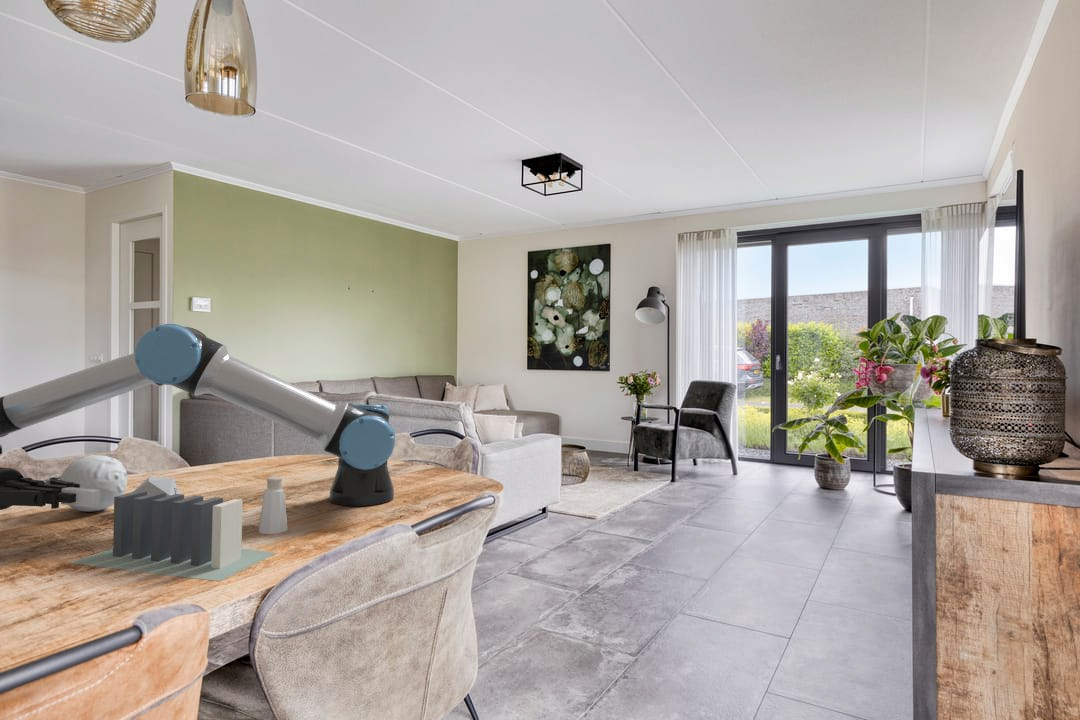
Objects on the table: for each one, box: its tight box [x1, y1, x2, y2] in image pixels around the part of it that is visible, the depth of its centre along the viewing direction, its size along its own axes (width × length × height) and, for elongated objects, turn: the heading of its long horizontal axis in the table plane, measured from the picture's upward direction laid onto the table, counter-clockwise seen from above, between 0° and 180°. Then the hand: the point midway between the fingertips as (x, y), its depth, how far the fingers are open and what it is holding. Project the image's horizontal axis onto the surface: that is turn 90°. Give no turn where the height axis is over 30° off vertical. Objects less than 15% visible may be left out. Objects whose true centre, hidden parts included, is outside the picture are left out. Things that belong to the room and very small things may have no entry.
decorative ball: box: [59, 454, 128, 513], centre depth 131 cm, size 12×12×12 cm
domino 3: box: [151, 493, 185, 562], centre depth 103 cm, size 2×5×10 cm, turn 168°
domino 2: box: [132, 492, 166, 559], centre depth 104 cm, size 2×5×10 cm, turn 168°
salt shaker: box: [258, 475, 288, 535], centre depth 120 cm, size 5×5×11 cm
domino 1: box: [112, 491, 147, 557], centre depth 104 cm, size 2×5×10 cm, turn 168°
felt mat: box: [70, 547, 277, 582], centre depth 103 cm, size 28×14×1 cm, turn 78°
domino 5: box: [191, 496, 224, 566], centre depth 101 cm, size 2×5×10 cm, turn 168°
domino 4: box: [171, 495, 204, 564], centre depth 102 cm, size 2×5×10 cm, turn 168°
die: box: [132, 476, 181, 497], centre depth 131 cm, size 8×9×10 cm
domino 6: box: [211, 498, 244, 569], centre depth 101 cm, size 2×5×10 cm, turn 168°
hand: (95, 498), depth 106 cm, fingers closed
